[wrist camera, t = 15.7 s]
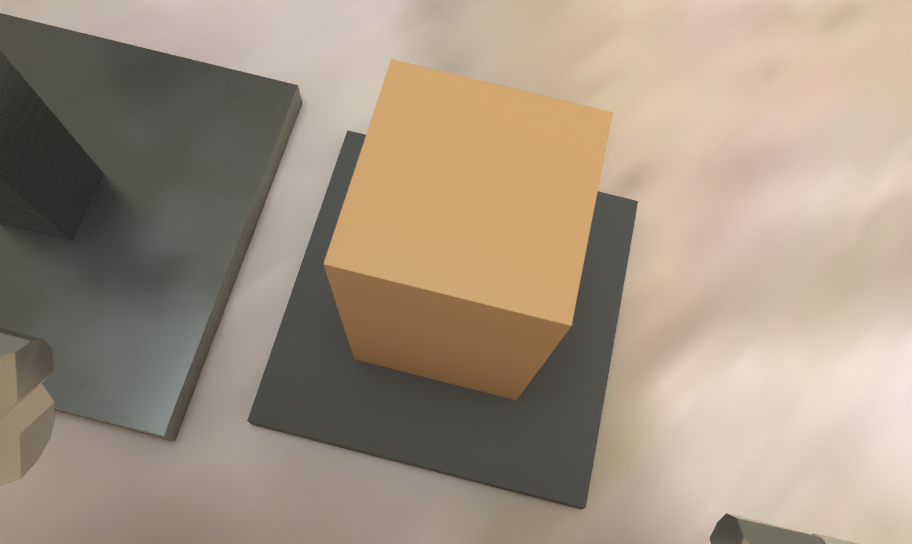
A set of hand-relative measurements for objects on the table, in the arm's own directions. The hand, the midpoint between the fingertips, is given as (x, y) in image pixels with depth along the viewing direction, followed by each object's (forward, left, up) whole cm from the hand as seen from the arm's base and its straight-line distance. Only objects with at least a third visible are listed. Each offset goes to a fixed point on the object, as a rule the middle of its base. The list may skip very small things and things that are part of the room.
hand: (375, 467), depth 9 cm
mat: (0, +6, -13) cm, 15 cm away
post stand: (-13, +6, -13) cm, 19 cm away
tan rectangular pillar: (0, +6, -12) cm, 14 cm away
